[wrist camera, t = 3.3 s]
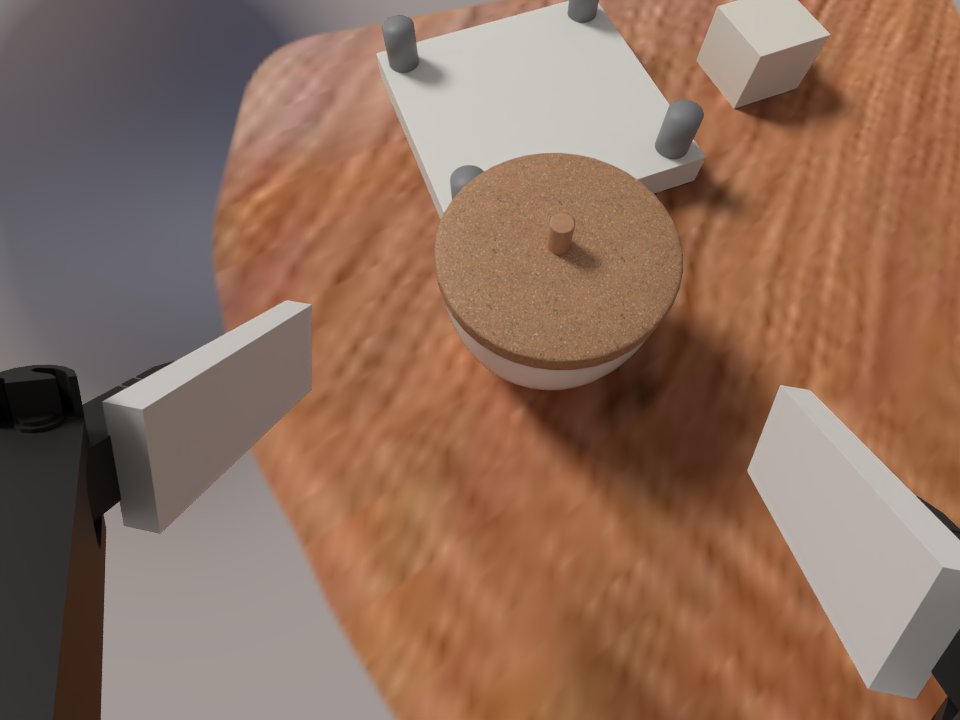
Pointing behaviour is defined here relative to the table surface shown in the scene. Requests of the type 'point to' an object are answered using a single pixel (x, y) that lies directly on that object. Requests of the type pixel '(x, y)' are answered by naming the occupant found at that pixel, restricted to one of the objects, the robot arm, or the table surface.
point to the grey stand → (534, 99)
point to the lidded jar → (556, 268)
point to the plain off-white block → (760, 48)
